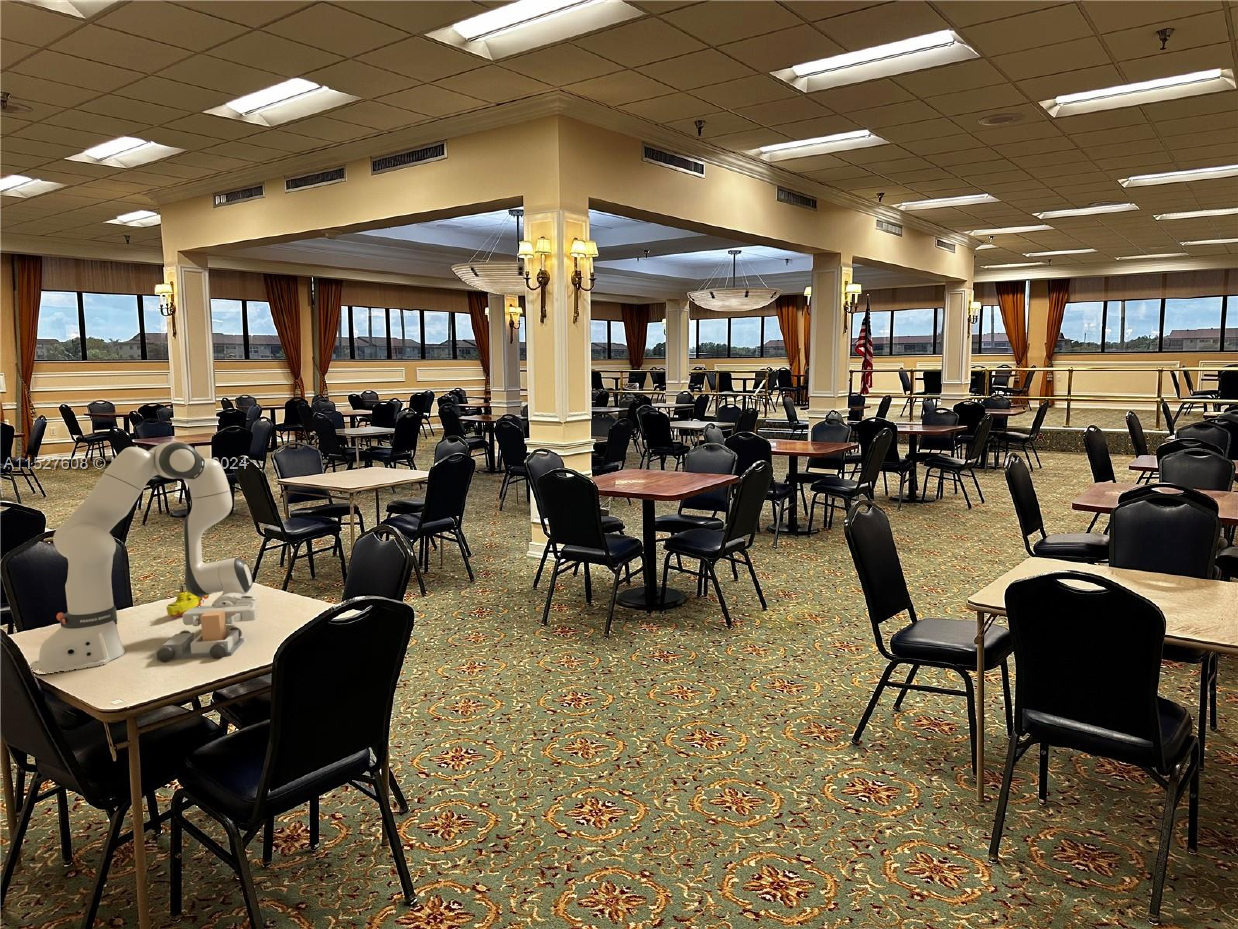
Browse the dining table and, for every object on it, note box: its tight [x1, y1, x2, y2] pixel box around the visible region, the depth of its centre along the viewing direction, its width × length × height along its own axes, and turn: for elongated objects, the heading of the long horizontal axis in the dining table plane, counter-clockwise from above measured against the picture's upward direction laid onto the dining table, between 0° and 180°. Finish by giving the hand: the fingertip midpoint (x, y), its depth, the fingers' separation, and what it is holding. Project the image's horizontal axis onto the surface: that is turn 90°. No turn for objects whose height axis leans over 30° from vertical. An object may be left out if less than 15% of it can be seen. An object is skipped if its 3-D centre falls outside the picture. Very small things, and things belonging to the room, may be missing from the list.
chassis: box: [155, 626, 245, 663], centre depth 240 cm, size 20×16×4 cm
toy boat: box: [166, 585, 210, 617], centre depth 277 cm, size 6×18×10 cm, turn 174°
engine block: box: [200, 610, 227, 641], centre depth 240 cm, size 5×5×10 cm
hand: (212, 622), depth 239 cm, fingers open, 8 cm apart
